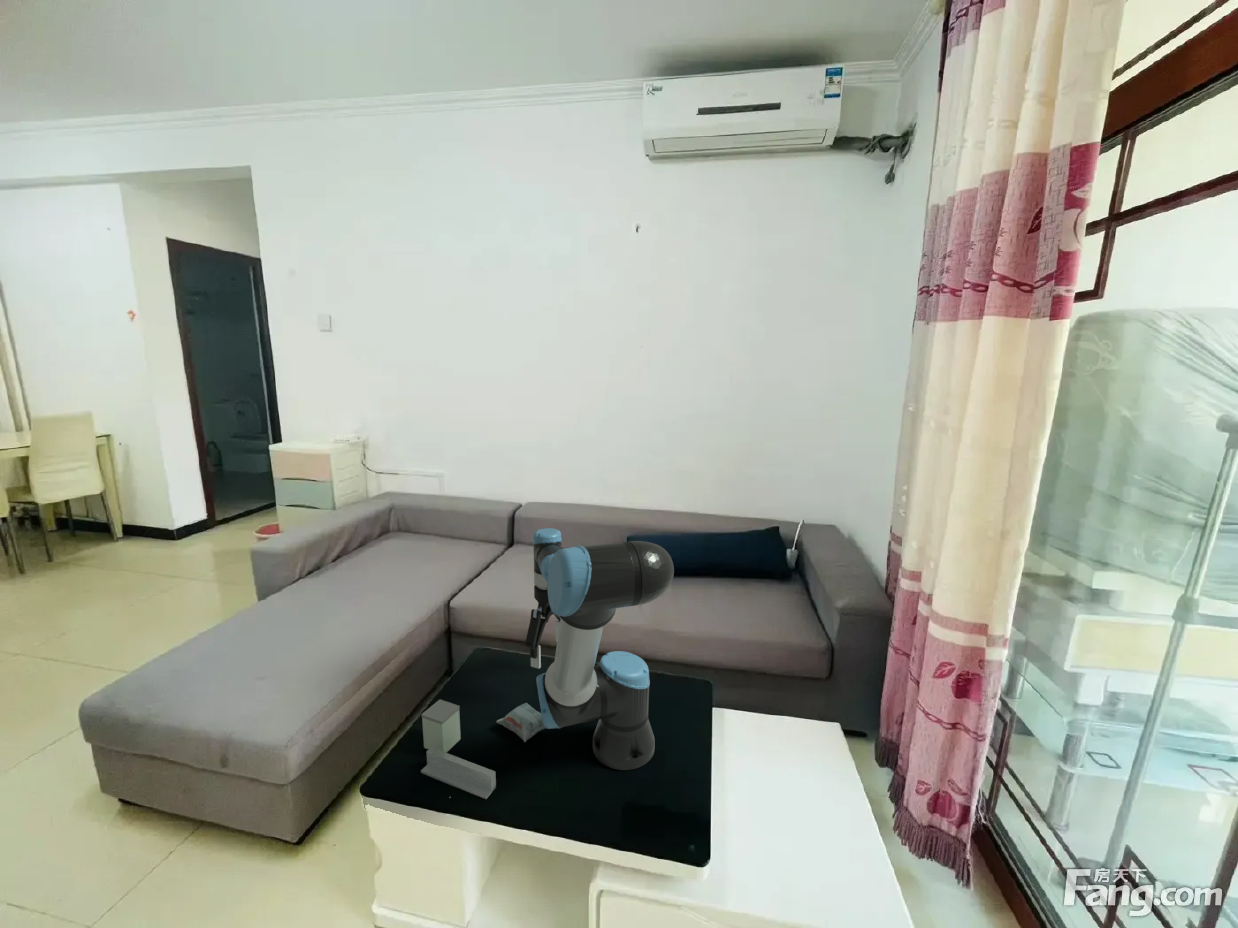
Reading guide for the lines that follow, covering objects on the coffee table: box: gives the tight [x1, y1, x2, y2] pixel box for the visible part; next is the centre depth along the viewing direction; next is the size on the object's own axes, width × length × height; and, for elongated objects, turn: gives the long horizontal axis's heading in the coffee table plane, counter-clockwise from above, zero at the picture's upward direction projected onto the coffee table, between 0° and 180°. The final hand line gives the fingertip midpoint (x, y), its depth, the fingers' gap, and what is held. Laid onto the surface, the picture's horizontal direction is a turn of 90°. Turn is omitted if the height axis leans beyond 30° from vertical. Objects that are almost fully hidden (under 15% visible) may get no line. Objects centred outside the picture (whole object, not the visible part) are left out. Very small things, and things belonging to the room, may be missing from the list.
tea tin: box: [420, 699, 462, 753], centre depth 124 cm, size 6×6×9 cm
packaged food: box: [496, 702, 547, 743], centre depth 129 cm, size 9×12×5 cm
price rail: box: [420, 747, 497, 800], centre depth 114 cm, size 18×4×4 cm, turn 67°
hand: (548, 654), depth 145 cm, fingers open, 13 cm apart
